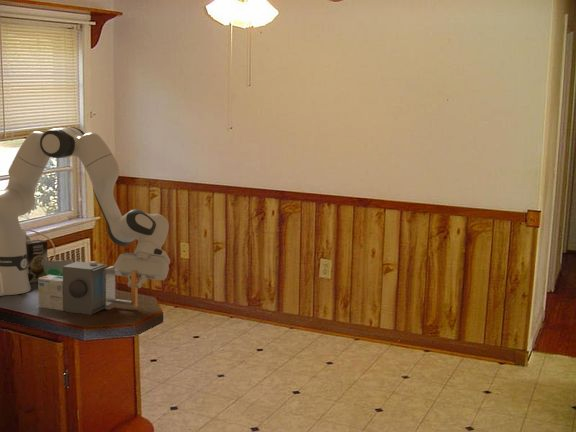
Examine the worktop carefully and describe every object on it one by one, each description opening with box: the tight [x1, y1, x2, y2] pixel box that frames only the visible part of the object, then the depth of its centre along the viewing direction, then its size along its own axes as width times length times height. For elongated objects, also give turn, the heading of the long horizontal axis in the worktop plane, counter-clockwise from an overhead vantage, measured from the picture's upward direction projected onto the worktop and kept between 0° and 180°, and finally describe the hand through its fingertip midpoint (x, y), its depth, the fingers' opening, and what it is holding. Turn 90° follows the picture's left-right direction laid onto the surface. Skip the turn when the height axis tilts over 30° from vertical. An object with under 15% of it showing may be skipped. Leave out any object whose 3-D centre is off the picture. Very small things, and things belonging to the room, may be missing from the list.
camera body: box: [63, 260, 109, 316], centre depth 261 cm, size 12×11×17 cm
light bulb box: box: [37, 275, 64, 312], centre depth 265 cm, size 11×7×11 cm, turn 70°
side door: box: [103, 265, 139, 308], centre depth 264 cm, size 10×6×14 cm, turn 73°
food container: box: [41, 258, 74, 276], centre depth 296 cm, size 12×6×10 cm, turn 104°
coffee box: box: [26, 239, 48, 284], centre depth 301 cm, size 9×6×16 cm
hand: (133, 286), depth 264 cm, fingers closed on side door, 2 cm apart
